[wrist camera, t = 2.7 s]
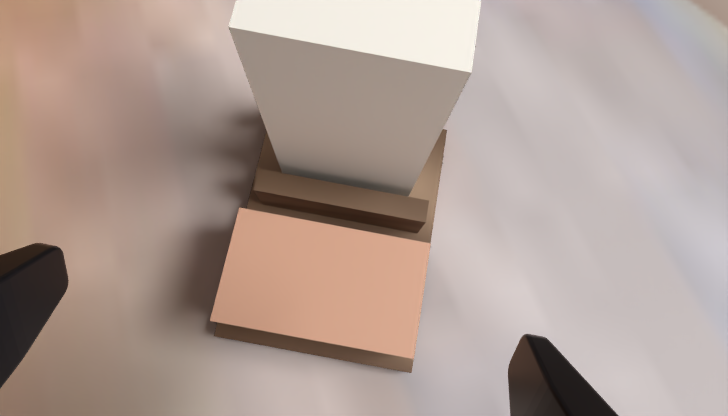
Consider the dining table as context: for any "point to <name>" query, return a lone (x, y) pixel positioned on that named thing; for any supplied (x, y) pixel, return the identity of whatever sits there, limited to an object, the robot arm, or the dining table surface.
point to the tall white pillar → (356, 82)
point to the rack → (344, 210)
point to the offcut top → (323, 283)
